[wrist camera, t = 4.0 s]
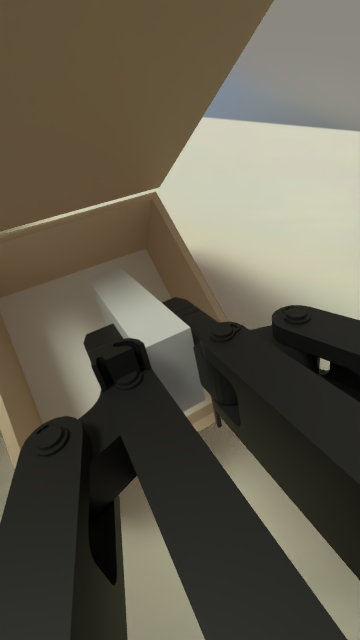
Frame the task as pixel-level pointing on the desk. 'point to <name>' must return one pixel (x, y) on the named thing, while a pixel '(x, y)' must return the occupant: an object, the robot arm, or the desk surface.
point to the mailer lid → (106, 94)
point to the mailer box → (81, 306)
